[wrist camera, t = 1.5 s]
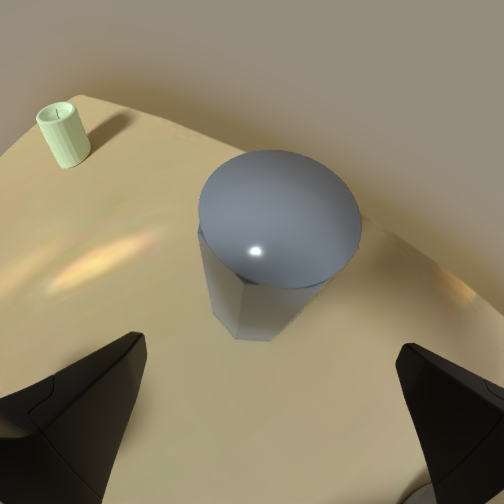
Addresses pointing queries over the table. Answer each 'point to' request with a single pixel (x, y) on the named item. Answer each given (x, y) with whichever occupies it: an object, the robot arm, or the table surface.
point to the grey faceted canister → (273, 238)
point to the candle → (64, 133)
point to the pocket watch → (422, 496)
